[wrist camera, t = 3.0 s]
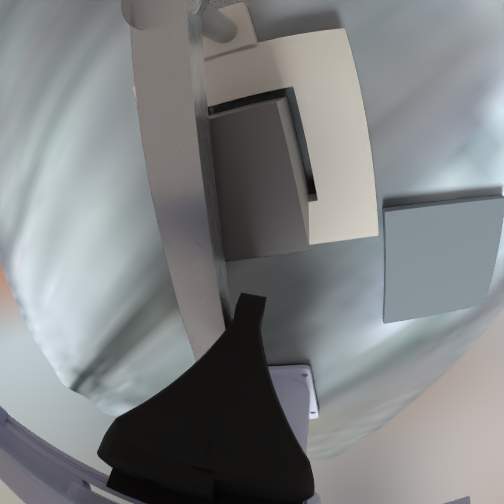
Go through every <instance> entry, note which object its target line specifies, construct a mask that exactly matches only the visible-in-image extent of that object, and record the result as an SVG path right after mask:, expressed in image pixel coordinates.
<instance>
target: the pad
mask: <svg viewBox="0 0 504 504" xmlns="http://www.w3.org/2000/svg"><path fill="white" fill-rule="evenodd" d="M503 217H504V196H503V195H492V196H482V197H472V198H463V199H453V200H444V201H436V202H427V203H419V204H410V205H402V206H394V207H386V208H383V227H384V303H383V322H384V324H385V323H391V322H398V321H404V320H410V319H415V318H421V317H426V316H432V315H437V314H442V313H447V312H452V311H456V310H461V309H465V308H470V307H474V306H478V305H483V304H484V303H485V300H486V297H487V293H488V290H489V286H490V282H491V278H492V275H493V270H494V266H495V262H496V257H497V252H498V247H499V242H500V237H501V231H502V224H503Z"/></svg>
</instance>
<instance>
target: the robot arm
mask: <svg viewBox="0 0 504 504" xmlns="http://www.w3.org/2000/svg"><path fill="white" fill-rule="evenodd" d="M265 303H266V297H262V296H257V295H251V294H246V293H241V295H240V297H239V300H238V302H237V305H236V309H235V314H234V319H233V320H232V322H231V323H230V324H229V326H228V327H227V328H226V330H225V331H224V332H223V334H222V335H221V336H220V337H219V338H218V339H217V341H216V342H215V343H214V344H213V345H212V346H211V347H210V349H209V350H208V351H207V352H206V353H205V354H204V355H203V356H202V357H201V358H200V359H199V360H198V361H197V362H196V363H195V364H194V365H193V366H192V367H191V368H189V369H188V370H187V371H186V372H185V373H184V374H182V375H181V376H180V377H179V378H178V379H176V380H175V381H174V382H173V383H171V384H170V385H169V386H167V387H166V388H165V389H163V390H162V391H160V392H159V393H157V394H156V395H154V396H153V397H152V398H150V399H149V400H147V401H145V402H144V403H142V404H141V405H139V406H137V407H135V408H133V409H132V410H130V411H128V412H126V413H124V414H123V415H121V416H119V417H117V418H116V419H115V421H114V422H113V423H112V425H111V426H110V427H109V429H108V431H107V432H106V434H105V435H104V438H103V440H102V442H101V445H100V447H99V449H98V451H97V454H98V456H99V457H100V458H101V459H102V460H103V461H104V462H106V463H107V464H108V465H109V466H111V467H112V468H113V469H112V471H111V474H110V476H108V475H106V474H104V473H102V472H100V471H98V470H95V469H94V468H92V467H90V466H88V465H86V464H84V463H82V462H80V461H78V460H76V459H75V458H73V457H71V456H69V455H68V454H66V453H64V452H62V451H61V450H59V449H57V448H56V447H54V446H52V445H51V444H49V443H48V442H46V441H45V440H43V439H42V438H40V437H39V436H37V435H36V434H34V433H33V432H31V431H30V430H28V429H27V428H26V427H24V426H23V425H21V424H20V423H19V422H17V421H16V420H15V419H14V418H12V417H11V416H10V415H8V413H7V412H6V411H5V410H4V409H3V408H2V407H1V406H0V479H1V480H2V481H3V482H4V483H5V484H6V485H7V486H8V487H9V488H10V489H11V490H12V491H13V492H14V493H15V494H16V495H17V496H18V497H19V498H20V499H21V500H23V501H24V502H25V503H26V504H119V503H117V502H115V501H113V500H110V499H108V498H106V497H104V496H102V495H99V494H97V493H95V492H93V491H92V490H91V488H90V485H89V483H90V484H92V485H94V486H96V487H98V488H100V489H102V490H104V491H106V492H108V493H111V494H112V495H115V496H117V497H120V498H122V499H124V500H127V501H129V502H132V503H134V504H321V500H320V496H319V494H318V493H316V492H315V490H314V478H313V473H312V469H311V465H310V461H309V459H308V458H307V456H306V449H307V437H308V424H309V419H314V418H318V417H319V410H318V405H317V399H316V394H315V389H314V383H313V378H312V373H311V368H310V366H308V365H289V366H268V365H267V361H266V357H265V353H264V348H263V343H262V336H261V326H262V320H263V315H264V309H265ZM87 482H88V483H87ZM444 504H470V497H469V496H467V497H464V498H461V499H458V500H454V501H451V502H448V503H444Z"/></svg>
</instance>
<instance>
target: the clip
mask: <svg viewBox="0 0 504 504" xmlns="http://www.w3.org/2000/svg"><path fill="white" fill-rule="evenodd" d="M208 2H209V0H122V6H121V8H122V14H123V16H124V19H125V20H126V22H127V23H128V24H129V25H130V27H131V45H132V58H133V70H134V80H135V90H136V99H137V107H138V114H139V122H140V129H141V136H142V142H143V148H144V155H145V160H146V166H147V172H148V177H149V183H150V188H151V193H152V198H153V203H154V208H155V212H156V217H157V222H158V226H159V231H160V235H161V239H162V243H163V248H164V252H165V256H166V260H167V264H168V268H169V272H170V275H171V279H172V283H173V287H174V290H175V294H176V297H177V301H178V305H179V308H180V311H181V315H182V318H183V322H184V325H185V328H186V331H187V335H188V338H189V341H190V344H191V347H192V350H193V353H194V356H195V359H196V362H197V361H198V360H199V359H200V358H201V357H202V356H203V355H204V354H205V353H206V352H207V351H208V350H209V349H210V347H211V346H212V345H213V344H214V343H215V342H216V341H217V339H218V338H219V337H220V336H221V335H222V334H223V332H224V331H225V330H226V328H227V327H228V326H229V324H230V323H231V322H232V320H233V317H232V310H231V303H230V296H229V288H228V281H227V273H226V266H225V258H224V250H223V243H222V235H221V226H220V218H219V210H218V201H217V192H216V183H215V174H214V165H213V155H212V146H211V136H210V125H209V115H208V104H207V92H206V80H205V68H204V55H203V41H202V26H201V17H202V16H203V14H204V12H205V11H206V9H207V6H208Z"/></svg>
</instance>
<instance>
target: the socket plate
mask: <svg viewBox="0 0 504 504" xmlns="http://www.w3.org/2000/svg"><path fill="white" fill-rule="evenodd" d="M201 26H202V41H203V55H204V68H205V80H206V92H207V104H208V107H211V106H214V105H217V104H221V103H224V102H228V101H232V100H235V99H239V98H243V97H247V96H251V95H255V94H259V93H264V92H268V91H273V90H278V89H283V88H288V87H293V88H294V92H295V96H296V100H297V104H298V108H299V112H300V116H301V120H302V125H303V129H304V133H305V138H306V143H307V147H308V152H309V157H310V162H311V167H312V172H313V177H314V182H315V187H316V193H315V194H308V205H309V245H312V244H319V243H327V242H334V241H341V240H349V239H356V238H364V237H371V236H378V217H377V203H376V191H375V181H374V171H373V163H372V155H371V148H370V141H369V134H368V128H367V122H366V116H365V111H364V105H363V100H362V95H361V90H360V86H359V81H358V77H357V72H356V68H355V64H354V60H353V56H352V52H351V48H350V45H349V41H348V38H347V34H346V31H345V28H342V29H332V30H324V31H316V32H309V33H303V34H297V35H291V36H286V37H281V38H276V39H271V40H267V41H262V42H258V39H257V36H256V33H255V29H254V26H253V23H252V20H251V17H250V14H249V11H248V7H247V6H246V4H245V3H244V2H239V3H235V4H232V5H228V6H225V7H222V8H219V9H216V8H215V7H214V6H212V5H211V4H210V3H208V6H207V9H206V11H205V12H204V14H203V16H202V17H201ZM132 88H133V92H134V95H135V98H136V90H135V87H132ZM136 101H137V99H136Z"/></svg>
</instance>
